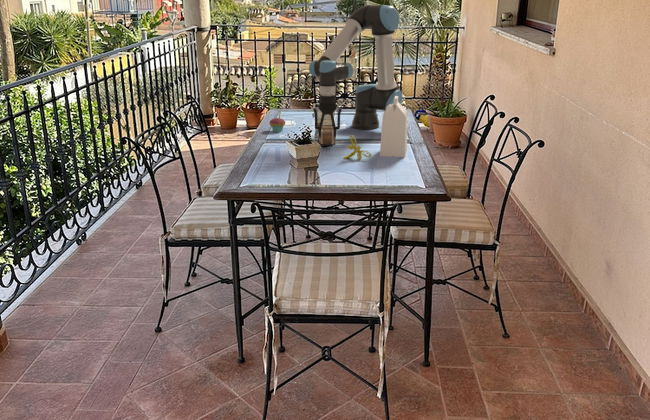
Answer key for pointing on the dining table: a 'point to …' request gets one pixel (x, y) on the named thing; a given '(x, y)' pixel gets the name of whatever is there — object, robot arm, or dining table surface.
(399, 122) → the milk
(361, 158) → the decorative insect
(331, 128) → the birch cradle
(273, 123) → the cupcake
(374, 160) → the dining table surface
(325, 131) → the walnut bar
